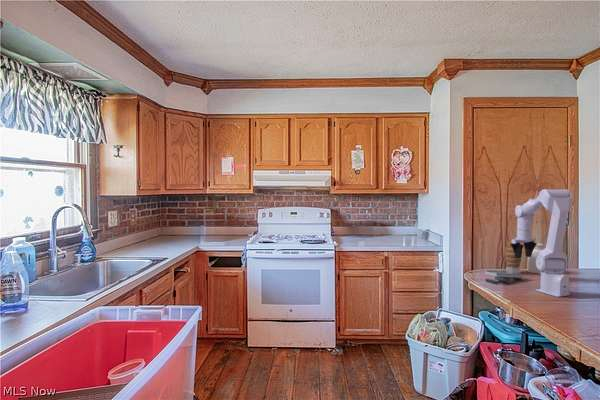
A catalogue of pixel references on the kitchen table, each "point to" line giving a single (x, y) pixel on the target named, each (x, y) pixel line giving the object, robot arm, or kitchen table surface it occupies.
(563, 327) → the kitchen table surface
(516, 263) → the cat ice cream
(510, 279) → the stand
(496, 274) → the beam
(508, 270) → the block
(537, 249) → the pill bottle
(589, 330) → the kitchen table surface
